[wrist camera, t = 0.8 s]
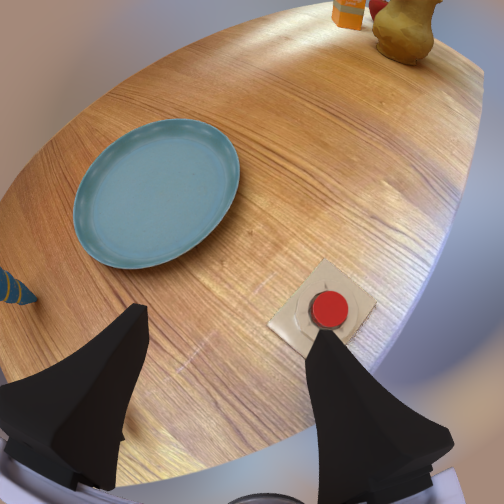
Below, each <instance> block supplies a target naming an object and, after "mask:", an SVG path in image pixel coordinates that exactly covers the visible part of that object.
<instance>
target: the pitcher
mask: <svg viewBox="0 0 504 504" xmlns="http://www.w3.org/2000/svg"><path fill="white" fill-rule="evenodd" d="M442 1H443V0H390V2H389V3H388V4H387V6H386V7H385V8H383V9H382V10H381V11H379V12H378V14H377V15H376V16H375V19H374V24H373V29H372V30H373V33H374V35H375V36H376V37H377V38H378V40H379V43H377V45H376V48H377V49H378V51H379V52H380V53H381V54H383V55H384V56H386V57H387V58H389V59H393V60H395V61H398V62H400V63H403V64H407V65H416V64H417V63H416V62H417V60H416V59H423V58H425V57H426V56H427V55H428V53H429V52H430V51H431V49H432V47H433V44H434V38H433V33H432V30H431V19H432V15H433V13H434V9H435V6H436V4H438V3H441V2H442Z"/></svg>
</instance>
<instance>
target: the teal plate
mask: <svg viewBox="0 0 504 504" xmlns="http://www.w3.org/2000/svg"><path fill="white" fill-rule="evenodd" d="M239 179H240V165H239V159H238V155H237V152H236V150H235V148H234V146H233V144H232V143H231V141H230V140H229V139H228V138H227V137H226V136H225V135H224V134H223V133H222V132H221V131H219V130H218V129H216V128H215V127H213V126H211V125H209V124H206V123H204V122H200V121H196V120H191V119H167V120H161V121H156V122H153V123H149V124H146V125H143V126H141V127H139V128H136V129H134V130H132V131H130V132H128V133H127V134H125V135H123V136H122V137H120V138H119V139H117V140H116V141H115V142H113V143H112V144H111V145H110V146H108V147H107V148H106V149H105V150H104V151H103V152H102V153H101V154H100V155H99V156H98V157H97V158H96V159H95V161H94V162H93V163H92V164H91V166H90V167H89V169H88V170H87V172H86V174H85V175H84V177H83V179H82V181H81V183H80V185H79V188H78V191H77V194H76V197H75V202H74V209H73V220H74V228H75V232H76V235H77V237H78V240H79V242H80V243H81V245H82V246H83V248H84V249H85V250H86V252H87V253H88V254H89V255H90V256H92V257H93V258H94V259H96V260H97V261H99V262H101V263H103V264H105V265H108V266H111V267H115V268H120V269H142V268H149V267H153V266H157V265H160V264H163V263H166V262H169V261H171V260H173V259H175V258H178V257H179V256H181V255H183V254H185V253H186V252H188V251H190V250H191V249H193V248H194V247H195V246H197V245H198V244H199V243H201V242H202V241H203V240H204V239H205V238H206V237H207V236H208V235H209V234H210V233H211V232H212V231H213V230H214V229H215V228H216V227H217V226H218V224H219V223H220V222H221V220H222V219H223V218H224V216H225V215H226V213H227V211H228V210H229V208H230V206H231V204H232V202H233V200H234V197H235V195H236V192H237V189H238V184H239Z"/></svg>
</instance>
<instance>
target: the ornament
mask: <svg viewBox="0 0 504 504" xmlns="http://www.w3.org/2000/svg"><path fill="white" fill-rule="evenodd" d="M0 301H4V302H6V303H17V304H19V305H25V304H29V303H32V302H36V301H37V297H36V296H35V295H34V294H33V293H32V292H31V291H30V290H29V289H28V288H27V287H26V286H25V285H24V284H23V283H22V282H21V281H19V280H17V279H14V277H13V276H12V275H11V274H10V273H9V272H7V271H5V270H3V269H2V268H1V267H0Z"/></svg>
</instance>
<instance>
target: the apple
mask: <svg viewBox="0 0 504 504" xmlns="http://www.w3.org/2000/svg"><path fill="white" fill-rule="evenodd" d="M388 3H389V2H386V1H384V0H370V2H369V10H370V14H371V17H372V19H373V21H374V19H375V16H376V15H377V14H378V12H379V11H381V10H382V9H383V8H385V7H386V6H387V4H388Z"/></svg>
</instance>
